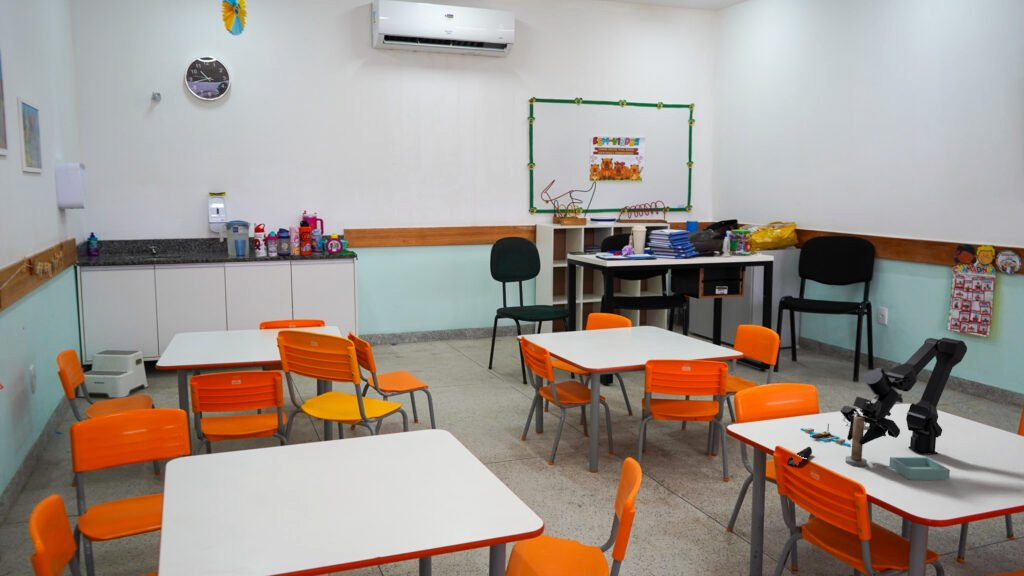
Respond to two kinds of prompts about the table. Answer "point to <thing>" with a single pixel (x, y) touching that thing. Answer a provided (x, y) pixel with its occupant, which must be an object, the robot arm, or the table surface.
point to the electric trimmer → (803, 453)
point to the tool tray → (919, 468)
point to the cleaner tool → (857, 444)
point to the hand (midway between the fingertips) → (854, 441)
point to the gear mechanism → (825, 436)
